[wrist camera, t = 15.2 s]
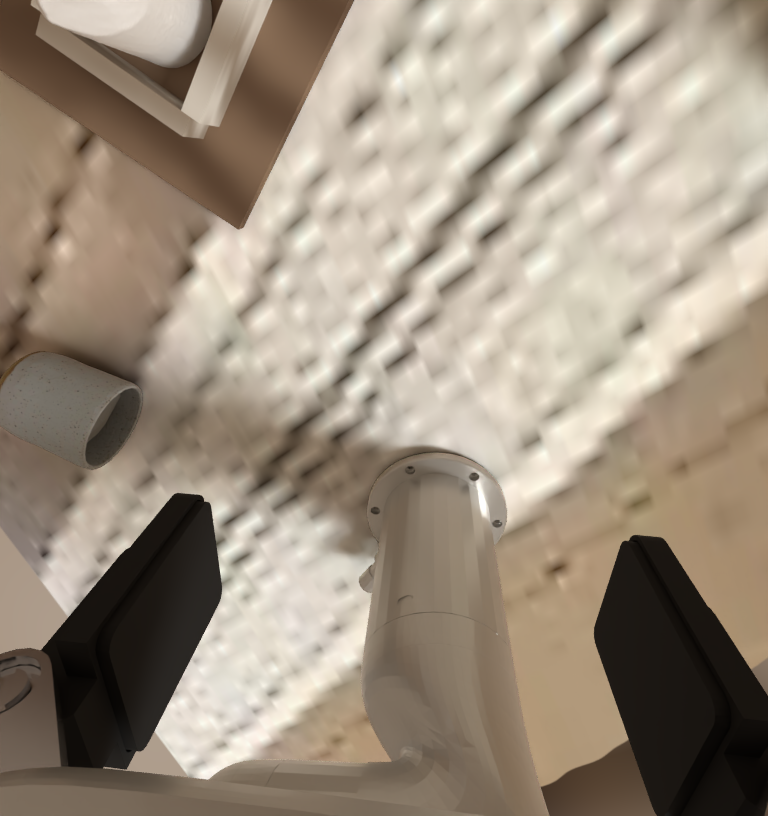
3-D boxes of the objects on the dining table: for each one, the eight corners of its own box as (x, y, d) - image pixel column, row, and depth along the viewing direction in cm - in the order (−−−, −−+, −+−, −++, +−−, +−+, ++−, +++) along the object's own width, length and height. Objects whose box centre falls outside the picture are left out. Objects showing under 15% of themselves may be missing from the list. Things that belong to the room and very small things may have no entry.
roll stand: (243, 227, 35) (221, 234, 32) (1, 64, 32) (-53, 52, 28) (378, -51, 28) (370, -83, 24) (80, -301, 24) (19, -381, 21)
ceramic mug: (54, 332, 40) (-24, 369, 33) (149, 370, 41) (92, 413, 34) (48, 432, 45) (-21, 481, 38) (133, 464, 46) (80, 518, 39)
